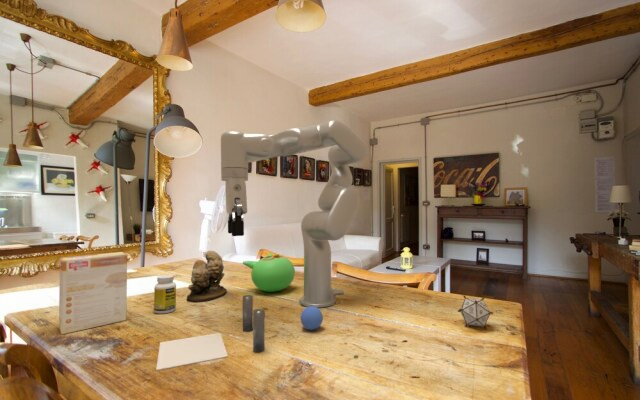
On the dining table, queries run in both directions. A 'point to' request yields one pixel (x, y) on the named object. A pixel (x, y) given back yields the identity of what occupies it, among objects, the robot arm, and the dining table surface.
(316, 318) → the ball
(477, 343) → the dining table surface
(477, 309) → the game die
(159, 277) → the pill bottle
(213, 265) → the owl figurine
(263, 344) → the post
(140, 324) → the dining table surface
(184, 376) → the dining table surface
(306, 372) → the dining table surface
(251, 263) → the green teapot
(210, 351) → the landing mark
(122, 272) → the coffeecake box
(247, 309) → the post
